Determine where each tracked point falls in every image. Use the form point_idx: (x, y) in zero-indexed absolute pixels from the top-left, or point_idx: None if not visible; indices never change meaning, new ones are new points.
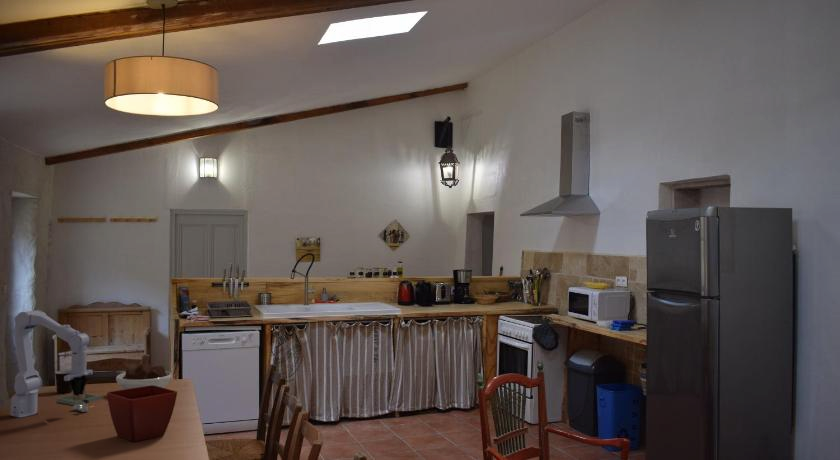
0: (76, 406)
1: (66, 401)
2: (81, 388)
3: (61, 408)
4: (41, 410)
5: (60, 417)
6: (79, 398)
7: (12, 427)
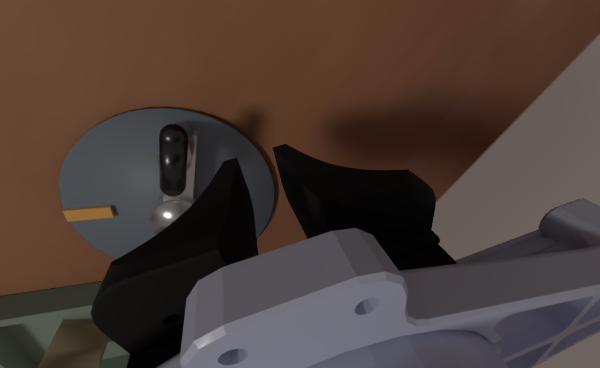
0: None
1: None
2: (239, 194)
3: None
4: None
5: None
6: (85, 336)
7: (444, 181)
